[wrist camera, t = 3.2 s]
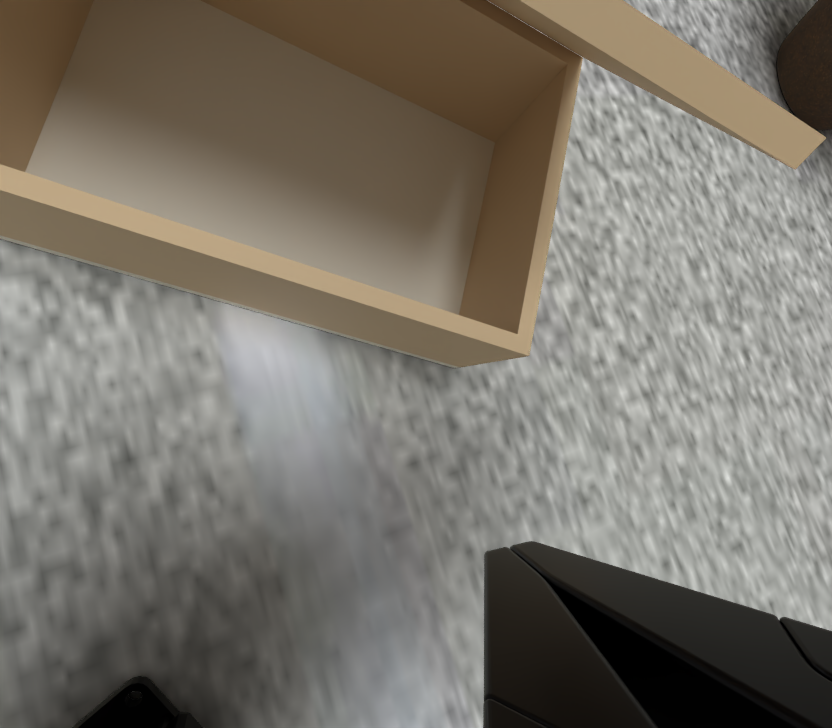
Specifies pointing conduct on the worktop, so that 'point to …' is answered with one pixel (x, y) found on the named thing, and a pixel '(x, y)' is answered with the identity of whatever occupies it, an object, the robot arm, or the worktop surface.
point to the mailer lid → (669, 71)
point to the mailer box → (296, 158)
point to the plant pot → (809, 67)
